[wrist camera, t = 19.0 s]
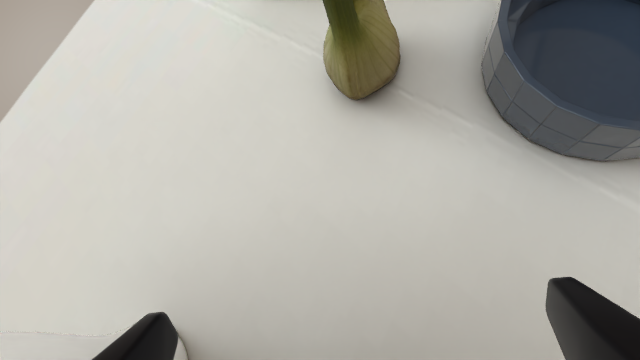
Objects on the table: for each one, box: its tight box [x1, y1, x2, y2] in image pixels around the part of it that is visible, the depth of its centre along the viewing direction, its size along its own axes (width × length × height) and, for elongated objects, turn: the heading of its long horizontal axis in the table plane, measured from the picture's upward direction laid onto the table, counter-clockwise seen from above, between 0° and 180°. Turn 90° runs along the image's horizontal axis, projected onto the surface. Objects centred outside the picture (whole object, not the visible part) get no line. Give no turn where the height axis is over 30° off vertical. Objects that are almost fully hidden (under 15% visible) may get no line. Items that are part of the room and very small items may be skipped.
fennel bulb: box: [323, 0, 400, 100], centre depth 20 cm, size 6×5×12 cm
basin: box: [481, 0, 640, 161], centre depth 20 cm, size 13×13×4 cm
